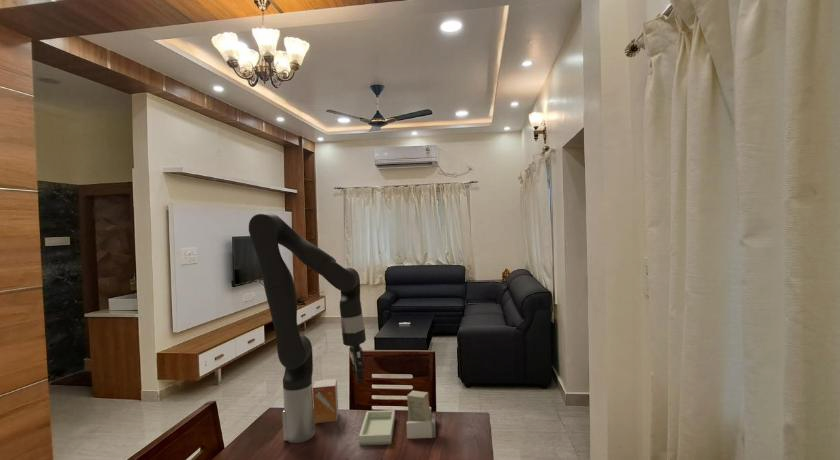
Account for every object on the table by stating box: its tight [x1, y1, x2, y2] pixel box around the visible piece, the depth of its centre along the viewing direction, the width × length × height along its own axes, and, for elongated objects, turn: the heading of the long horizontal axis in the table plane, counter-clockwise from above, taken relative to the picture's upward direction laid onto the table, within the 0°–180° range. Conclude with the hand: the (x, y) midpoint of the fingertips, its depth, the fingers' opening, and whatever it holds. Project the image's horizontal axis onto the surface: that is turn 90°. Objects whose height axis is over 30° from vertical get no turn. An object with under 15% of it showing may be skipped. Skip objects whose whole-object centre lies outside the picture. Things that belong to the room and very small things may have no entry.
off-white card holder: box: [406, 406, 437, 440], centre depth 130 cm, size 9×10×5 cm
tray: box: [358, 409, 396, 446], centre depth 131 cm, size 10×16×3 cm, turn 179°
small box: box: [312, 378, 339, 424], centre depth 141 cm, size 8×6×13 cm
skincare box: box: [406, 390, 430, 421], centre depth 130 cm, size 6×4×12 cm
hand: (358, 376), depth 130 cm, fingers open, 8 cm apart
